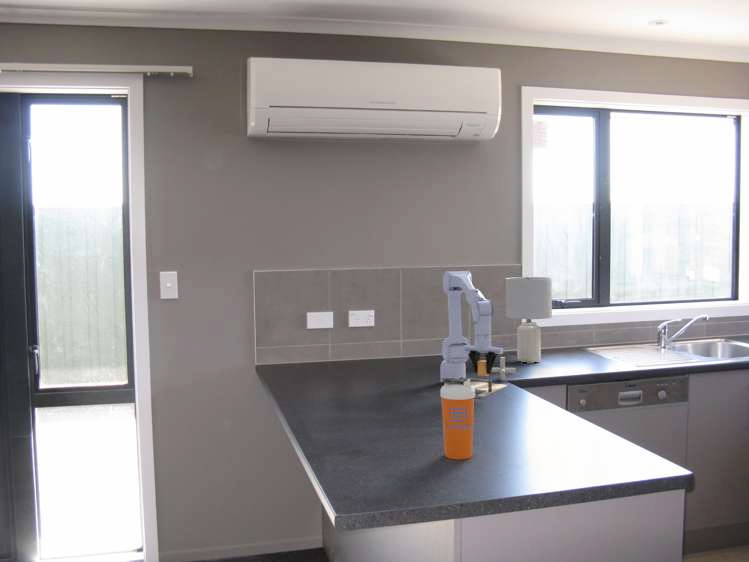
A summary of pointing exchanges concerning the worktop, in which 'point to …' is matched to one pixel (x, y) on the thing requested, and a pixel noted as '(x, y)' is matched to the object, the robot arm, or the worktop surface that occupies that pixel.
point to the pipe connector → (503, 369)
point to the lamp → (529, 312)
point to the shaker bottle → (458, 417)
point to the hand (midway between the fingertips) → (483, 372)
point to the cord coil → (482, 368)
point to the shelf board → (485, 386)
